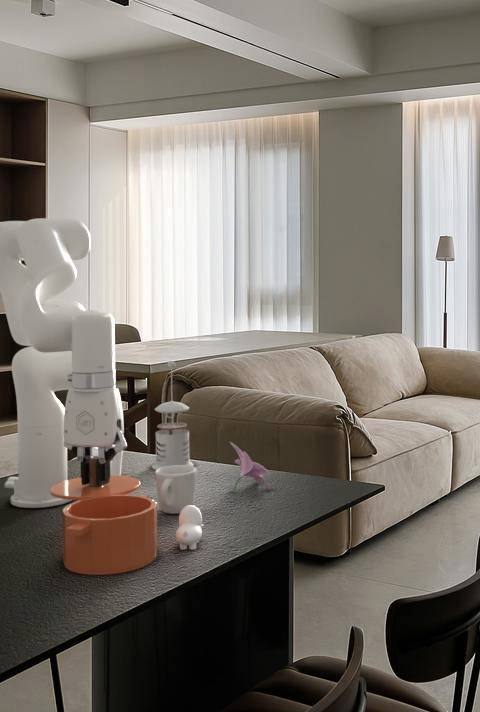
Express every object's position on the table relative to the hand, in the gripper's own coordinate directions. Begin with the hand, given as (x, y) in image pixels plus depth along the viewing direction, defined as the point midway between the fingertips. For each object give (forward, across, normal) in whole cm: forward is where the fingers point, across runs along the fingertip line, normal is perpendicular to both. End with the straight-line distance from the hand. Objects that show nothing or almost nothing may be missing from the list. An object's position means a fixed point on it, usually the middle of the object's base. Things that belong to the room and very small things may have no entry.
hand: (95, 482), depth 154 cm
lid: (+1, 0, 0) cm, 1 cm away
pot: (+9, +11, -12) cm, 18 cm away
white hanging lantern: (+8, -12, +49) cm, 51 cm away
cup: (+9, +8, +14) cm, 18 cm away
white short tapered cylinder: (+8, -20, +34) cm, 41 cm away
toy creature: (+9, +20, -2) cm, 22 cm away
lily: (+9, +15, +34) cm, 38 cm away
